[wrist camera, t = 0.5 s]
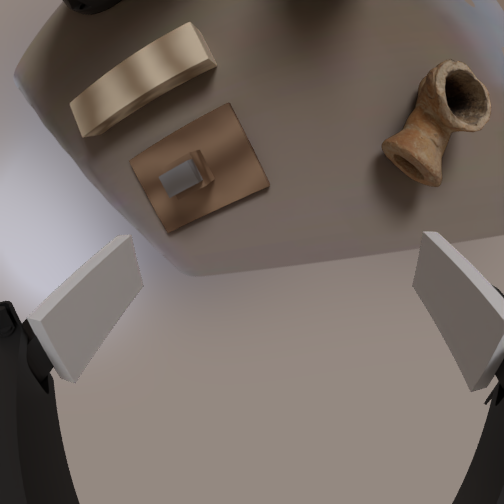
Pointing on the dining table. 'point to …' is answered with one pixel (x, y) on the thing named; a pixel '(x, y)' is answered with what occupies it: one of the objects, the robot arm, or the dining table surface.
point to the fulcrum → (199, 168)
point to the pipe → (438, 120)
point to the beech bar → (142, 79)
